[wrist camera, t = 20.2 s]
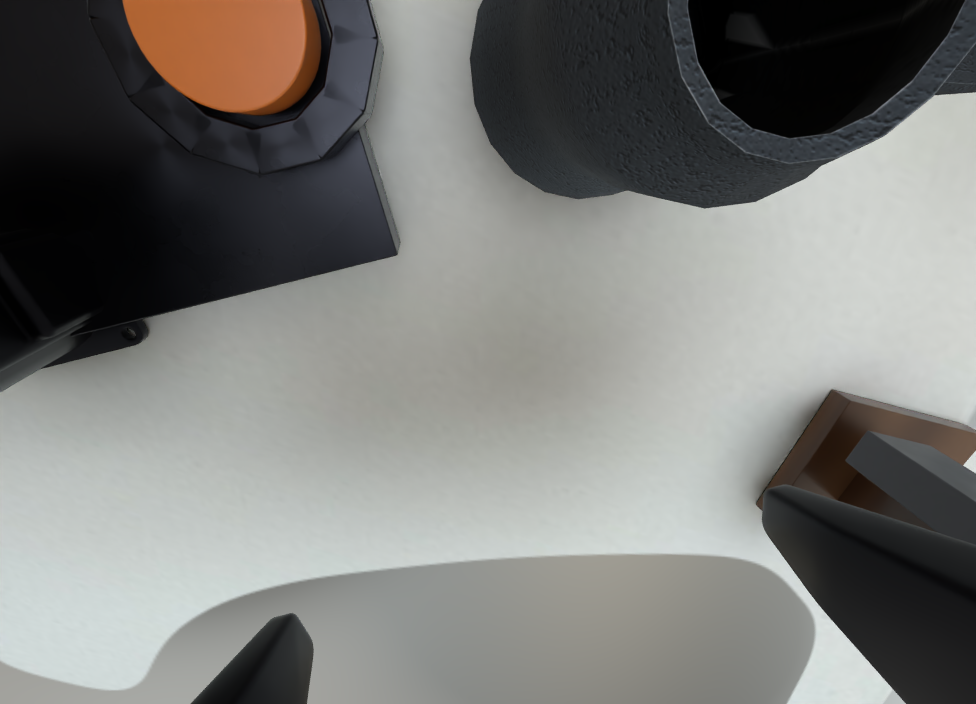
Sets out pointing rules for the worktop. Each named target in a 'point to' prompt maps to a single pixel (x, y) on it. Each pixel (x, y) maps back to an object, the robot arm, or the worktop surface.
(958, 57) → the mug
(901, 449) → the grey bridge block
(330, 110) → the button block
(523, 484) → the worktop surface
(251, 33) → the button
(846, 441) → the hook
